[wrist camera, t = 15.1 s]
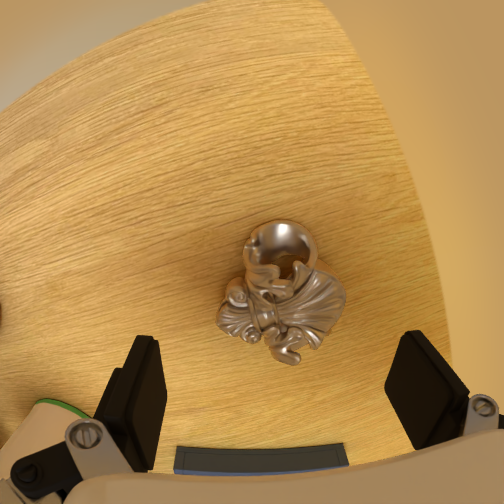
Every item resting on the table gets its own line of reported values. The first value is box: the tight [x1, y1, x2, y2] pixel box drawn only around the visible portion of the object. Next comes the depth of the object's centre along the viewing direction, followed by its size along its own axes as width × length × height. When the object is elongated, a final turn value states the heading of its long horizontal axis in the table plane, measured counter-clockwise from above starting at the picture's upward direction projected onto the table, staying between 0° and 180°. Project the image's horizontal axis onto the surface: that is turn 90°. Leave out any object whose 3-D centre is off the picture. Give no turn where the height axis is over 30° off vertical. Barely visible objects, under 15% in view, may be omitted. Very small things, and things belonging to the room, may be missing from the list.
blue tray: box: [173, 443, 349, 476], centre depth 24 cm, size 15×13×3 cm
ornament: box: [215, 220, 346, 365], centre depth 16 cm, size 8×7×4 cm
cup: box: [0, 399, 90, 480], centre depth 15 cm, size 12×12×15 cm
